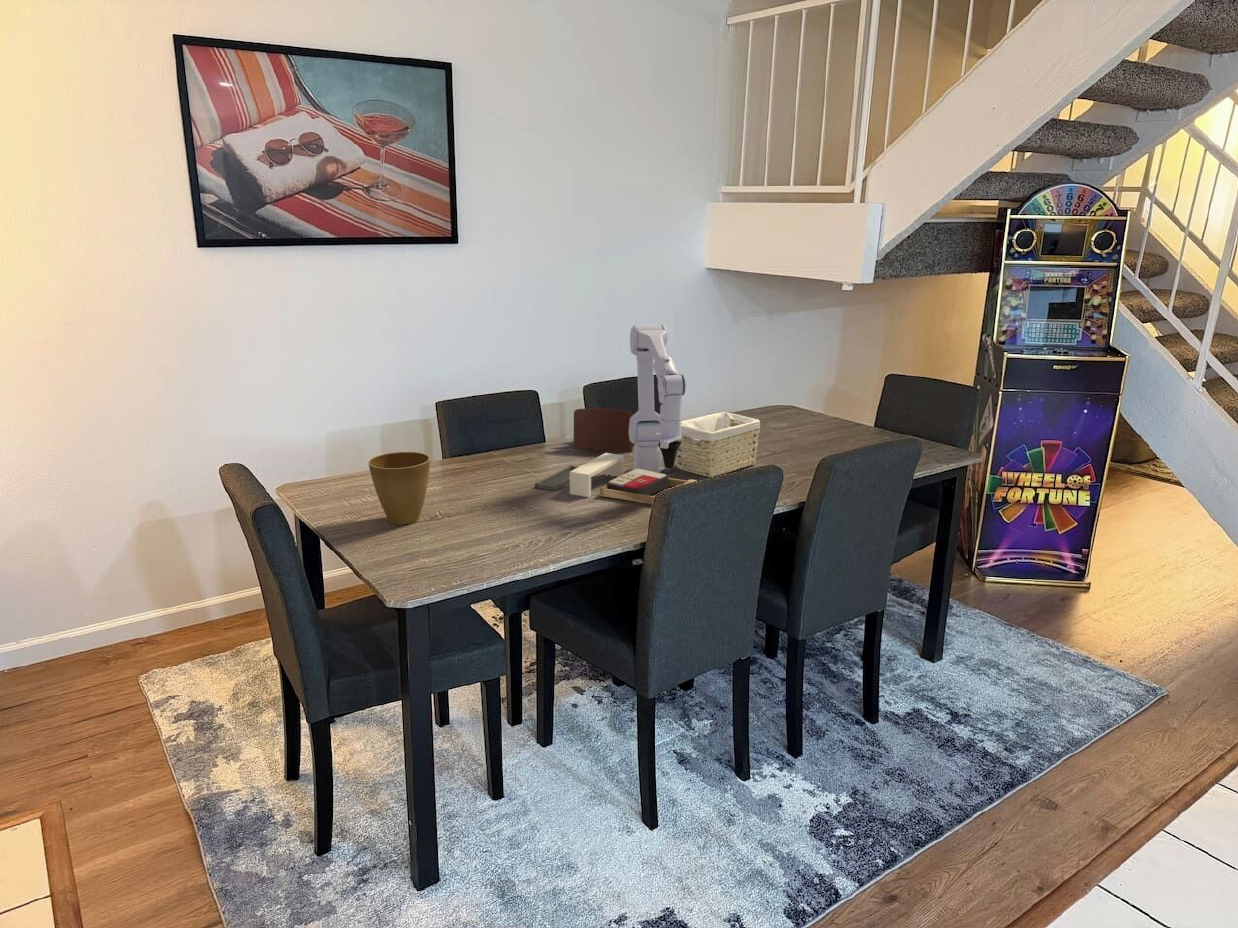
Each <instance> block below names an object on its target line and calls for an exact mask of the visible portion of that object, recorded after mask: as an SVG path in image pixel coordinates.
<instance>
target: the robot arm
mask: <svg viewBox="0 0 1238 928" xmlns="http://www.w3.org/2000/svg"><path fill="white" fill-rule="evenodd" d="M629 334H630V335H629V347H630V353H631V354H632V355H634V356H636V363H637V364H636V366H637V367H636V368H637V370H636V371H637V399H638V400H637V401H638V405H637V406H638V410H637V411H636V412H635V413H634V414H633V416H632V417H631V418H630V422H629V439H630V441H631V442H632V443H634V450H633V468H632V469H631V470H629V471H628V472H631V471H633V470H635V469H642V470H647V471H652V472H656V473H661V472H663V471H664V470H665V469H674V466H675V464H676V460H677V458H676V457H677V456H676V455H677V451H678V449H679V447H680V445H681V441H678V440H679V439H681V421H682V412H683V411H682V410H683V409H682V404H683V403H682V402H683V397H684V395H685V393H686V387H687V383H686V378H685V376H684V374H683V373H681V372H678V370H677V367H676V364H675V362H674V360H673V358H672V357H671V356H668V354H667V350H666V345H667V343H668V335H669V334H668V329H667V327H666V326H665V325H664V324H661V325H633V326H632V327H631V328H630V331H629ZM654 373H655V376H656V378H657V391H658V402H659V403H660V404H659V405H660V408H659V409H660V410H659V413H658V412H656V411H655V383H654V380H655V377H654ZM663 465H664V467H663Z"/></svg>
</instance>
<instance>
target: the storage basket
mask: <svg viewBox="0 0 1238 928" xmlns="http://www.w3.org/2000/svg"><path fill="white" fill-rule="evenodd" d="M760 421H761V420H759V419H758V418H752V417H748V416H744V415H740V414H735V413H733V412H731V413H729V412H726V411H720V412H717V413H712V414H709V415H703V416H699V417H695V418H690V419H684V420H681V439H679V440H678V441H681V445H680V447H679V449H678V451H677V455H676V467H677V469H679V470H681V471H685V472H689V473H691V474H694V473H695V475H697V474H699V475H698V476H702V475H703V476H702V477H704V476H707V477H706V478H713V477H712V476H716V477H718V476H721V474H722V475H724V474H725V475H726V474H728V473H730V472H733V471H738V470H741V469H742V468H743V469H744V468H746V467H750V466H754V465H755V464H756V458H757V452H758V451H757V449H758V441H759V435H760V431H761V430H760V429H761V422H760ZM732 423H734V424H737V425H734V426H732ZM740 468H741V469H740ZM737 469H738V470H737ZM717 475H718V476H717Z"/></svg>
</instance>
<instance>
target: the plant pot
mask: <svg viewBox="0 0 1238 928" xmlns="http://www.w3.org/2000/svg"><path fill="white" fill-rule="evenodd" d="M430 465H431V457H430V455H429V454H427V453H423V452H418V451H397V452H388V453H384V454H380V455H376V456H374V457H372V458H369V460H368V468H369V472H370V476H371V479H372V483H373V486H374V489H375V493H376V494H377V497H378V501H379V502H380V505H381V507H382V510H383V512H384V514H385V516H386V518H387V520H388V522H389V523H390V524H393V525H396V526H397V525H399V526H402V525H403V526H404V525H411V524H414V523H417V522H418V521H419V519H420V517H421V514H422V511H423V507H424V503H425V498H426V495H427V490H428V483H429V475H430Z"/></svg>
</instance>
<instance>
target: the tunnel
mask: <svg viewBox="0 0 1238 928" xmlns="http://www.w3.org/2000/svg"><path fill="white" fill-rule="evenodd" d="M624 465H625V455H623V454H616V453H609V452H605V453H603V454H601V455H599V456H597V457H595V458H593V459H591V460H589V461H588V462H586V463H583V464H582V465H580V466H578V465H577V466H576V465H572V464H571V465H569V466H567V467H565V468H563V469H561V470H559V471H556V472H555V473H552V474H551V475H549V476H547V477H545V478H542V480H539V481H537V482H535V483H534V488H535V489H543V490H547V491H549V490H550V491H555V492H556V491H558V490H559V489H561V488H562V487H565V486H567V485H568V484H569V494H570V495H571V496H573V495H574V496H577V497H585V498H590V497H591V496H592V477H594V476H595V475H597V474H599V473H601V472H602V471H603V476H608V475H611V476H610V477H614V476H618V477H620V476H621V475H623V474H625V466H624Z"/></svg>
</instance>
